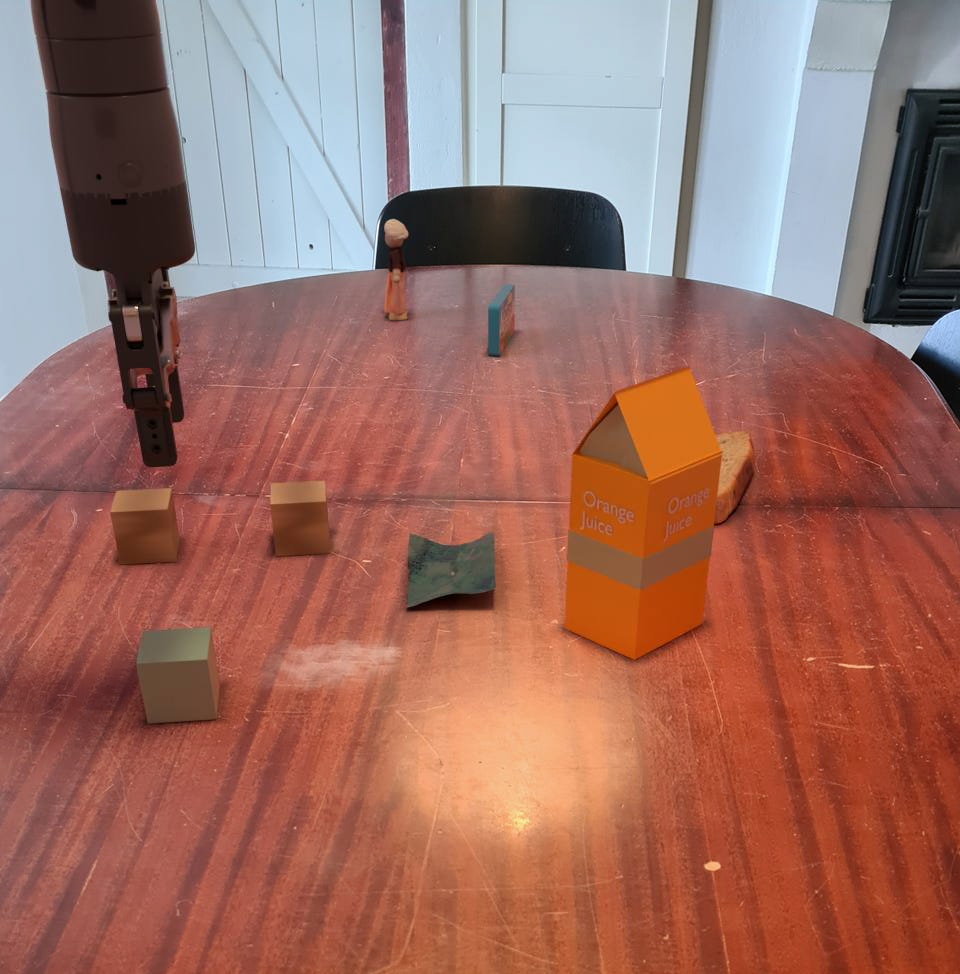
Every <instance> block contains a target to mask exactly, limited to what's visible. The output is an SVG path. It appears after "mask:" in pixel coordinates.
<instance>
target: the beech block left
mask: <svg viewBox="0 0 960 974" xmlns="http://www.w3.org/2000/svg"><path fill="white" fill-rule="evenodd" d="M174 499H175V498H174V493H173V488H172V487H163V488H146V489H145V488H144V489H143V488H142V489H125V490H124V489H123V490H122V489H121V490H116V491H115V494H114V497H113V499H112V500H113V501H112V504H111V508H110V511H109V515H110V520H111V525H112V529H113V530H112V531H113V536H114V540H115V545H116V550H117V551H116V552H117V555H118V561H119V565H120V566H121V565H139V564H158V563H174V562H175V563H176V562H177V558H178V553H179V547H180V541H181V537H180V531H179V524H178V518H177V512H176V505H175V500H174Z"/></svg>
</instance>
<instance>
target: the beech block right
mask: <svg viewBox="0 0 960 974" xmlns="http://www.w3.org/2000/svg"><path fill="white" fill-rule="evenodd" d="M326 486H327V485H326V480H309V481H307V480H306V481H286V482H271V483H270V491H269V492H270V494H269V495H270V497H269V506H270V517H271V525H272V526H271V527H272V535H273V543H274V552H275V557H287V556H306V555H307V556H308V555H322V554H323V555H324V554H325V555H327V554H331V552H332V551H331V537H330V536H331V535H330V523H329V509H328V498H327V497H328V496H327V487H326Z"/></svg>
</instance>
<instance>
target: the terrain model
mask: <svg viewBox="0 0 960 974" xmlns="http://www.w3.org/2000/svg"><path fill="white" fill-rule="evenodd" d="M495 548H496V547H495V532H494V531H492V532H489V533H487V534H484V535H483V536H481V537H479V538H478V539H475V540H473V541H469V542H465V543H464V542H463V543H461V544H458V545H452V544H442V543H440V542H436V541H433V540H430V539H428V538H426V537H424V536H420V535H418V534H414V533H409V537H408V543H407V565H408V586H407V587H408V588H407V601H406V608H411V607H415V606H417V605H420V604H422V603H426V602H428V601H431V600H434V599H437V598H440V597H444V596H447V595H448V596H449V595H451V594H452V595H453V594H469V595H475V594H481V593H486V592H489V591H492V590H494V589H496V588H497V585H496V554H495V552H496V550H495Z"/></svg>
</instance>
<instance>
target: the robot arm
mask: <svg viewBox="0 0 960 974" xmlns="http://www.w3.org/2000/svg"><path fill="white" fill-rule="evenodd" d="M30 11H31V18H32V24H33V31H34V34H35V40H36V45H37V51H38V56H39V61H40V67H41V71H42V76H43V82H44V87H45V90H46V92H45V94H46V102H47V113H48V129H49V137H50V143H51V149H52V154H53V160H54V165H55V171H56V175H57V182H58V186H59V192H60V197H61V202H62V207H63V212H64V213H63V214H64V217H65V223H66V228H67V233H68V239H69V244H70V248H71V255H72V258H73V259H74V261H75V263H77V264H78V265H79V266H80V267H82V268H84V269H86V270H90V271H93V272H102V271H105V272H107V273H109V274H111V275H112V276H113V277H114V281H115V282H114V283H115V284H114V286H115V288H113V289H111V297H112V299H111V298H109V299H107V308H108V309H107V310H108V313H107V314H108V315H107V317H108V320H109V322H110V324H111V329H112V335H113V341H114V346H115V353H116V363H117V365H118V370H119V375H120V382H121V387H122V394H121V395H122V396H121V397H122V402H123V404H124V405H125V408H126V410H131V411H133V413H134V418H135V425H136V429H137V436H138V441H139V447H140V453H141V460H142V463H143V464H144V465H145V466H146V467H147V468H163V467H166V468H167V467H174V466H175V465H176V464H177V462H178V450H177V448H178V447H177V443H176V437H175V430H174V424H176V423H181V422H183V420H184V418H185V406H184V401H183V400H184V399H183V394H182V388H181V386H182V385H181V381H180V373H179V366H178V365H179V364H180V359H181V352H180V350H178V348H179V347H180V344H181V333H180V323H179V319H178V300H177V294H176V289H175V287H174V286H171V283H170V281H171V280H170V275H169V270H170V269H172V268H175V267H179V266H181V265H184V264H185V263H188V262H190V261H191V260H192V258H193V257H194V256H195V253H196V243H195V236H194V229H193V222H192V214H191V213H192V212H191V206H190V200H189V191H188V190H189V189H188V183H187V177H186V170H185V162H184V155H183V146H182V139H181V133H180V128H179V124H178V120H177V115H176V112H175V109H174V104H173V100H172V95H171V90H170V87H169V85H170V82H169V75H168V69H167V61H166V54H165V46H164V39H163V33H162V26H161V21H160V15H159V9H158V4H157V1H156V0H30ZM141 375H145V382H146V386H145V387H139V386H138V377H139V376H141Z"/></svg>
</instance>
